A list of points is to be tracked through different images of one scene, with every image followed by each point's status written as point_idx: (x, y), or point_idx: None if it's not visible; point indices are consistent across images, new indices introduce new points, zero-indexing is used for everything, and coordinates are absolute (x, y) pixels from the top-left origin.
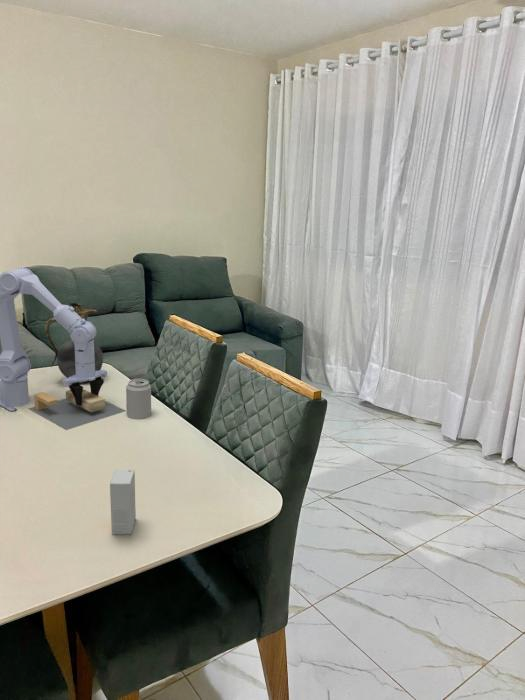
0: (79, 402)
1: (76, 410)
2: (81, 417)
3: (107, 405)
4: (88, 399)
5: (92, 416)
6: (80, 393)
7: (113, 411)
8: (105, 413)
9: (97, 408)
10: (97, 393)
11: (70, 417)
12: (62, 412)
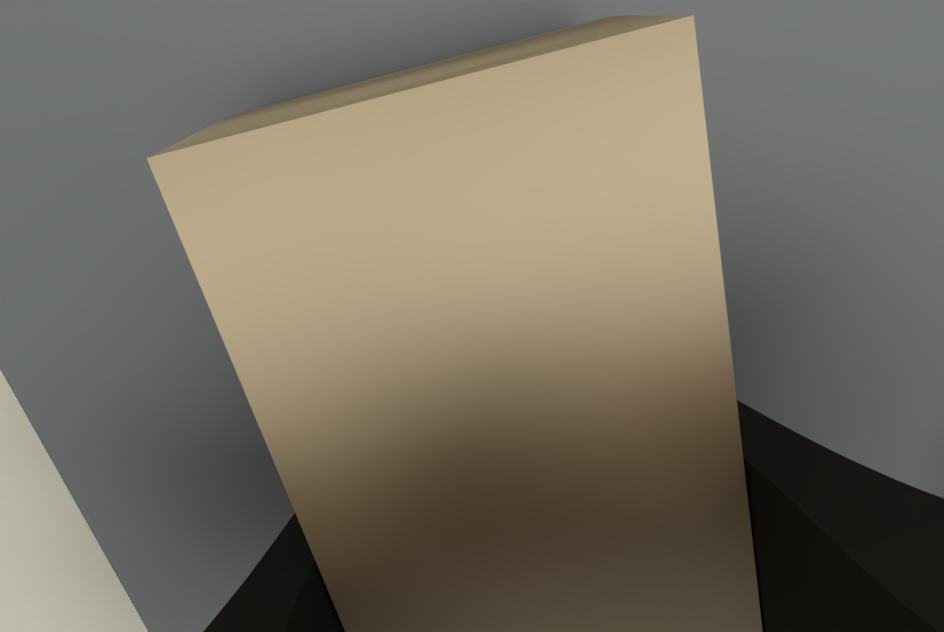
0: (766, 420)
1: None
2: (765, 75)
3: (132, 409)
4: (621, 348)
5: (565, 10)
6: (922, 543)
7: (75, 56)
8: (268, 34)
9: (438, 65)
10: (265, 594)
11: (924, 174)
12: (905, 439)
